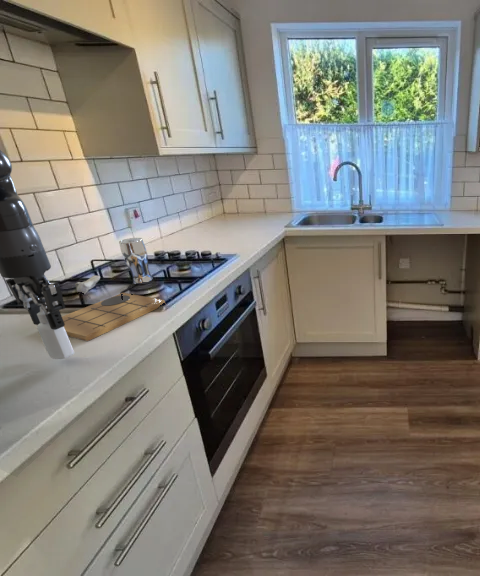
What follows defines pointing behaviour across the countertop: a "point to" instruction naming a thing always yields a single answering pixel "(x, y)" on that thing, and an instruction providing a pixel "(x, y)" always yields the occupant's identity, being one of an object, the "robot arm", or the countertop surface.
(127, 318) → the board
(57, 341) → the eye dropper bottle
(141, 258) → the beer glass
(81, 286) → the bone fragment
